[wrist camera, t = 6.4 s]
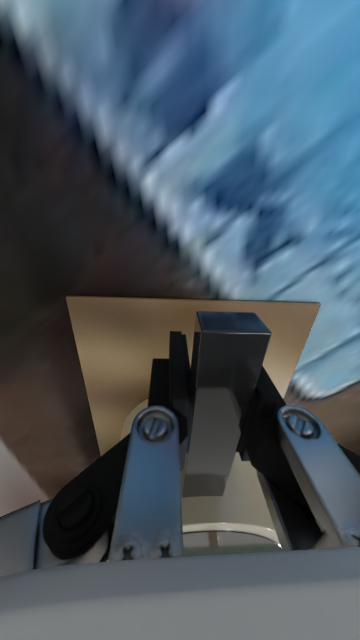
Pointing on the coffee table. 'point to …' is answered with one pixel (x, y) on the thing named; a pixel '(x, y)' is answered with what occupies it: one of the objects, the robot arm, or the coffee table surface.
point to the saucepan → (222, 439)
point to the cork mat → (164, 346)
